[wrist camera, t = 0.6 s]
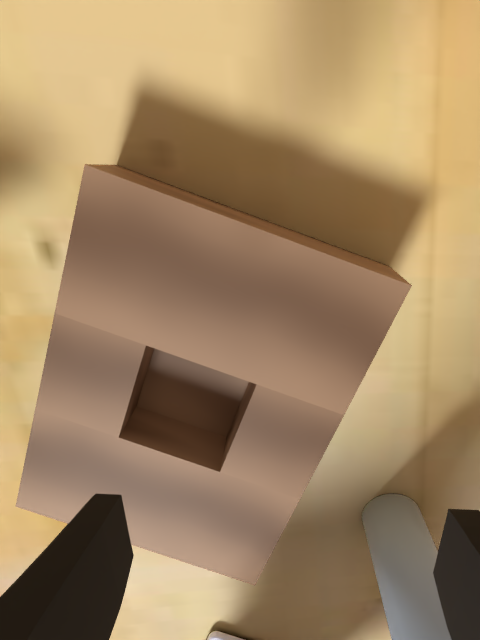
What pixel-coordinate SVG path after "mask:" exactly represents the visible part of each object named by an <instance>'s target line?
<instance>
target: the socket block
mask: <svg viewBox="0 0 480 640" xmlns="http://www.w3.org/2000/svg"><path fill="white" fill-rule="evenodd" d="M411 286H412V285H411V284H409V283H408V282H407V281H406V280H405V279H404V278H402V277H401V276H400V275H399V274H398V273H397V272H395V271H394V270H393V269H392V268H391V267H389V266H387V265H384V264H381V263H379V262H376V261H373V260H370V259H368V258H365V257H362V256H360V255H357V254H354V253H352V252H349V251H346V250H344V249H341V248H338V247H335V246H333V245H330V244H327V243H325V242H322V241H319V240H317V239H314V238H311V237H309V236H306V235H303V234H301V233H298V232H295V231H292V230H290V229H287V228H284V227H282V226H279V225H276V224H274V223H271V222H268V221H266V220H263V219H260V218H257V217H255V216H252V215H249V214H247V213H244V212H241V211H239V210H236V209H233V208H231V207H228V206H225V205H222V204H220V203H217V202H214V201H212V200H209V199H206V198H204V197H201V196H198V195H196V194H193V193H190V192H188V191H185V190H182V189H179V188H177V187H174V186H171V185H169V184H166V183H163V182H161V181H158V180H155V179H153V178H150V177H147V176H144V175H142V174H139V173H136V172H134V171H131V170H128V169H126V168H123V167H120V166H118V165H88V164H85V166H84V171H83V176H82V181H81V186H80V191H79V196H78V201H77V206H76V211H75V216H74V221H73V226H72V231H71V235H70V240H69V245H68V250H67V255H66V260H65V265H64V270H63V275H62V280H61V285H60V290H59V295H58V300H57V305H56V310H55V315H54V320H53V324H52V329H51V334H50V339H49V344H48V349H47V354H46V359H45V364H44V369H43V374H42V379H41V384H40V389H39V394H38V399H37V404H36V409H35V413H34V418H33V423H32V428H31V433H30V438H29V443H28V448H27V453H26V458H25V463H24V468H23V473H22V478H21V483H20V488H19V493H18V498H17V503H16V507H19V508H22V509H25V510H28V511H31V512H34V513H37V514H40V515H43V516H46V517H49V518H52V519H55V520H58V521H61V522H64V523H67V524H68V523H69V522H70V521H71V520H72V519H73V518H74V517H75V515H76V514H77V513H78V512H79V511H80V510H81V509H82V507H83V506H84V505H85V504H86V503H87V502H88V501H89V500H90V499H91V497H92V496H94V495H95V494H118V495H122V500H123V506H124V511H125V516H126V521H127V526H128V531H129V536H130V541H131V545H134V546H137V547H140V548H143V549H146V550H149V551H152V552H155V553H158V554H162V555H165V556H168V557H171V558H174V559H177V560H180V561H183V562H186V563H189V564H192V565H195V566H198V567H201V568H204V569H207V570H210V571H213V572H216V573H219V574H222V575H225V576H228V577H231V578H234V579H237V580H240V581H243V582H247V583H250V584H253V585H255V584H256V582H257V580H258V579H259V577H260V575H261V573H262V571H263V569H264V567H265V565H266V563H267V561H268V559H269V558H270V556H271V554H272V552H273V550H274V548H275V546H276V544H277V542H278V540H279V538H280V536H281V535H282V533H283V531H284V529H285V527H286V525H287V523H288V521H289V519H290V517H291V515H292V514H293V512H294V510H295V508H296V506H297V504H298V502H299V500H300V498H301V496H302V494H303V492H304V491H305V489H306V487H307V485H308V483H309V481H310V479H311V477H312V475H313V473H314V471H315V470H316V468H317V466H318V464H319V462H320V460H321V458H322V456H323V454H324V452H325V450H326V449H327V447H328V445H329V443H330V441H331V439H332V437H333V435H334V433H335V431H336V429H337V427H338V426H339V424H340V422H341V420H342V418H343V416H344V414H345V412H346V410H347V408H348V406H349V405H350V403H351V401H352V399H353V397H354V395H355V393H356V391H357V389H358V387H359V385H360V384H361V382H362V380H363V378H364V376H365V374H366V372H367V370H368V368H369V366H370V364H371V362H372V361H373V359H374V357H375V355H376V353H377V351H378V349H379V347H380V345H381V343H382V341H383V340H384V338H385V336H386V334H387V332H388V330H389V328H390V326H391V324H392V322H393V320H394V318H395V317H396V315H397V313H398V311H399V309H400V307H401V305H402V303H403V301H404V299H405V297H406V296H407V294H408V292H409V290H410V288H411Z"/></svg>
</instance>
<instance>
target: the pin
mask: <svg viewBox="0 0 480 640" xmlns="http://www.w3.org/2000/svg"><path fill="white" fill-rule="evenodd" d="M362 522H363V526H364V530H365V534H366V538H367V542H368V546H369V550H370V554H371V558H372V562H373V566H374V570H375V574H376V578H377V582H378V586H379V590H380V594H381V598H382V602H383V606H384V610H385V614H386V618H387V622H388V626H389V630H390V634H391V638H392V640H451V637H450V634H449V631H448V628H447V625H446V621H445V617H444V614H443V610H442V606H441V603H440V599H439V595H438V591H437V587H436V583H435V578H434V574H433V571H434V567H435V563H436V559H437V554H438V551H437V549H436V546H435V544H434V542H433V539H432V537H431V535H430V532H429V530H428V528H427V525H426V523H425V520H424V518H423V516H422V513H421V511H420V509H419V507H418V505H417V504H416V503H415V502H414V501H413V500H412V499H410V498H409V497H406V496H404V495H400V494H385V495H381V496H378V497H376V498H374V499H373V500H371V501H370V502H369V503H368V504H367V505H366V506H365V508H364V510H363V512H362Z"/></svg>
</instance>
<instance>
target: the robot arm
mask: <svg viewBox="0 0 480 640" xmlns="http://www.w3.org/2000/svg"><path fill="white" fill-rule="evenodd" d="M132 559H133V551H132V546H131V541H130V536H129V531H128V526H127V521H126V516H125V511H124V506H123V500H122V495H118V494H95V495H94V496H92V497H91V499H90V500H89V501H88V502H87V503H86V504H85V505H84V506H83V507H82V509H81V510H80V511H79V512H78V513H77V514H76V515H75V517H74V518H73V519H72V520H71V521H70V522H69V523H68V524H67V526H66V527H65V528H64V529H63V530H62V531H61V532H60V533H59V535H58V536H57V537H56V538H55V539H54V540H53V541H52V542H51V543H50V545H49V546H48V547H47V548H46V549H45V550H44V551H43V552H42V553H41V554H40V555H39V557H38V558H37V559H36V560H35V561H34V562H33V563H32V564H31V565H30V566H29V567H28V568H27V569H26V570H25V572H24V573H23V574H22V575H21V576H20V577H19V578H18V579H17V580H16V581H15V582H14V583H13V584H12V585H11V586H10V587H9V588H8V590H7V591H6V592H5V593H4V594H3V595H2V596H1V597H0V640H109V638H110V635H111V633H112V630H113V627H114V624H115V621H116V619H117V616H118V613H119V610H120V607H121V604H122V600H123V596H124V592H125V588H126V584H127V580H128V576H129V572H130V568H131V564H132ZM433 574H434V578H435V583H436V587H437V591H438V595H439V599H440V603H441V606H442V610H443V614H444V617H445V621H446V625H447V628H448V631H449V634H450V637H451V640H480V511H479V510H460V509H448V513H447V518H446V522H445V526H444V530H443V534H442V538H441V542H440V546H439V550H438V554H437V559H436V563H435V567H434V571H433ZM207 640H244V639H241V638H238V637H235V636H232V635H229V634H226V633H222V632H219V631H213V632H211V633H210V634H209V636H208V638H207Z"/></svg>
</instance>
